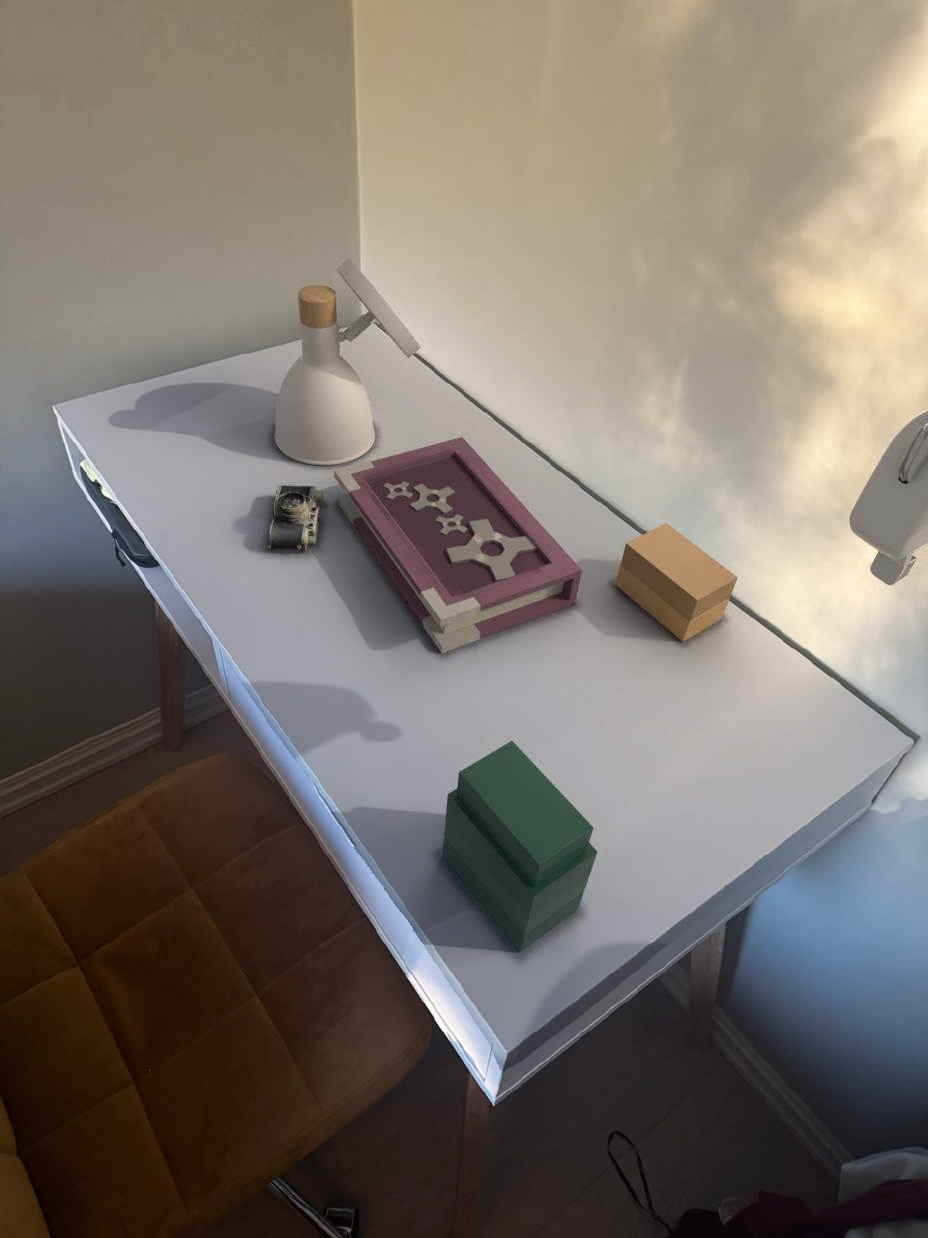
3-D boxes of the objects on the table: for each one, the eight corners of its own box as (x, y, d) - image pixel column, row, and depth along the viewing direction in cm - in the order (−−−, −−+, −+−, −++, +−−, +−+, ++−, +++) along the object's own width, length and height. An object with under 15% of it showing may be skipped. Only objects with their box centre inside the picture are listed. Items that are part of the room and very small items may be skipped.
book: (335, 505, 103) (333, 469, 100) (459, 470, 109) (461, 435, 106) (438, 655, 89) (440, 619, 85) (575, 605, 95) (582, 570, 91)
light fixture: (295, 449, 120) (189, 354, 104) (414, 342, 117) (324, 228, 101) (330, 505, 112) (222, 412, 96) (458, 393, 110) (369, 278, 94)
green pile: (578, 909, 71) (597, 851, 65) (519, 953, 68) (533, 896, 62) (499, 818, 76) (510, 756, 70) (441, 855, 74) (447, 793, 67)
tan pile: (722, 618, 95) (738, 577, 90) (682, 642, 92) (697, 600, 88) (654, 564, 100) (666, 522, 96) (614, 585, 97) (625, 542, 93)
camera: (324, 496, 104) (323, 467, 101) (314, 557, 97) (312, 527, 94) (280, 494, 104) (277, 464, 101) (266, 554, 97) (263, 524, 94)
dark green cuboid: (587, 849, 65) (594, 827, 62) (533, 887, 62) (539, 865, 60) (508, 763, 69) (512, 739, 67) (456, 795, 67) (458, 771, 65)
